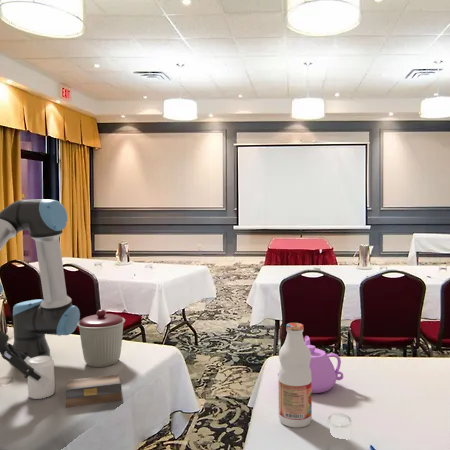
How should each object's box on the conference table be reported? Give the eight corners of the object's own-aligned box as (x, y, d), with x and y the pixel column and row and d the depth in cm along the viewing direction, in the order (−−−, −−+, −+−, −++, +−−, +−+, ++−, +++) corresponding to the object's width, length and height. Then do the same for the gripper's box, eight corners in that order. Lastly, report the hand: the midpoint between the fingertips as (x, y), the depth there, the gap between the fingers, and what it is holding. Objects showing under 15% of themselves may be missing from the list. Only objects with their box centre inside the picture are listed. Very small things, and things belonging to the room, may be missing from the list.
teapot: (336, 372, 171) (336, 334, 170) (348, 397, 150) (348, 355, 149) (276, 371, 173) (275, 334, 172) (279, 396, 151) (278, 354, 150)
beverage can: (45, 401, 149) (44, 364, 149) (23, 399, 151) (21, 362, 150) (59, 390, 157) (58, 355, 157) (38, 389, 159) (36, 354, 158)
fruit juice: (272, 416, 137) (272, 322, 136) (300, 410, 141) (300, 319, 139) (288, 431, 129) (288, 331, 127) (318, 424, 132) (318, 327, 130)
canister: (88, 354, 193) (87, 304, 192) (131, 355, 192) (130, 304, 191) (70, 370, 175) (68, 315, 174) (117, 371, 174) (116, 315, 173)
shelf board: (67, 387, 160) (67, 371, 160) (118, 381, 165) (118, 365, 165) (65, 407, 145) (64, 390, 144) (121, 400, 149) (121, 383, 149)
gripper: (-22, 338, 155) (29, 374, 163) (-16, 361, 133) (41, 400, 142) (-5, 320, 157) (44, 356, 166) (3, 339, 136) (59, 379, 144)
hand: (43, 376), depth 154 cm, fingers open, 13 cm apart
